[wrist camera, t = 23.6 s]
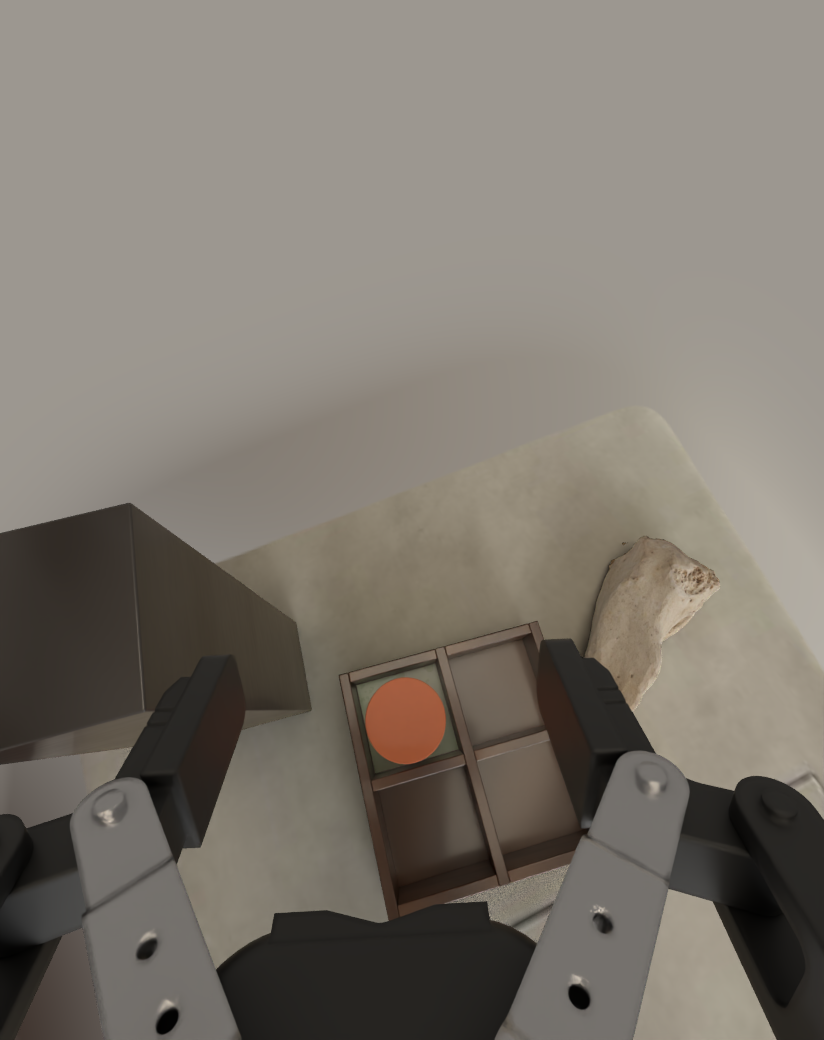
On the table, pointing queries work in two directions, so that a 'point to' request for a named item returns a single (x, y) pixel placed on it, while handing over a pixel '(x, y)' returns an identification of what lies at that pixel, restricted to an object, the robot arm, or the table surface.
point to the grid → (465, 776)
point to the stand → (124, 633)
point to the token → (405, 720)
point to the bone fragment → (645, 611)
